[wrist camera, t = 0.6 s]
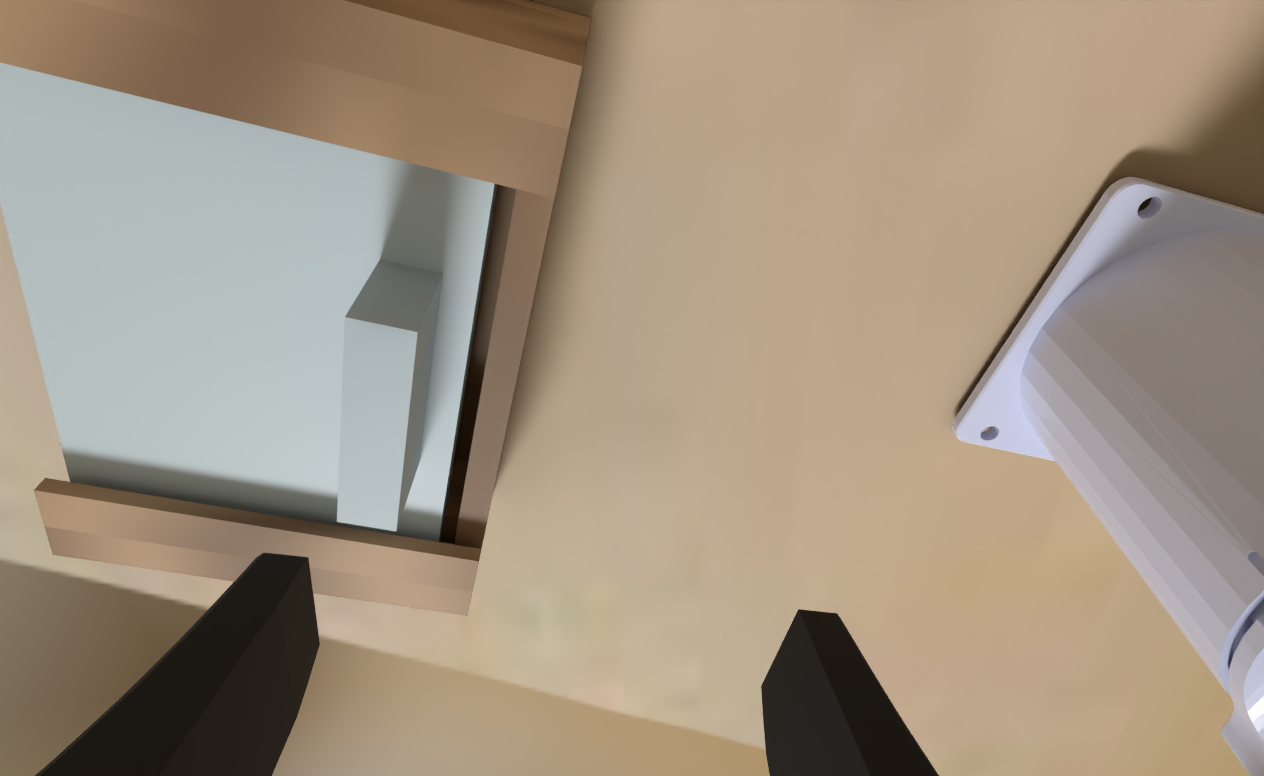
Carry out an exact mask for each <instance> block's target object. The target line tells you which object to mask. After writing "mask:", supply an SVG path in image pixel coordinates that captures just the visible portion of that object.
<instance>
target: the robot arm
mask: <svg viewBox="0 0 1264 776" xmlns="http://www.w3.org/2000/svg"><path fill="white" fill-rule="evenodd" d="M1151 197H1152V199H1151V201H1150V204H1149V205H1148V206H1147V207H1146V208H1145V209H1144V210H1141V211H1139V212H1137V211H1138V208H1139V206H1140V205H1141V204H1142V203H1143V202H1144V201H1145V200H1146V199H1149V198H1151ZM990 426H992V427H991V428H990V429H989V430H987V431H985V432H982V431H983V430H984V429H985V428H988V427H990ZM952 429H953V431H954V433H955V434H956V436H957V437H958V439H959V440H961V441H963V442H967V443H971V444H976V445H981V446H986V447H990V448H995V449H1000V450H1005V451H1010V452H1014V453H1019V454H1024V455H1029V456H1033V457H1038V458H1043V459H1048V460H1053V461H1056V462H1057V463H1058V465H1059V466H1060V468H1061V469H1062V470H1063V472H1064V473H1065V474H1066V476H1067V477H1068V478H1069V480H1070V481H1071V482H1072V484H1073V485H1074V486H1075V488H1076V489H1077V491H1078V492H1079V493H1080V495H1081V496H1082V497H1083V499H1084V500H1085V501H1086V503H1087V504H1088V505H1089V507H1090V508H1091V509H1092V511H1093V512H1094V513H1095V515H1096V516H1097V518H1098V519H1099V520H1100V522H1101V523H1102V524H1103V526H1104V527H1105V528H1106V530H1107V531H1108V532H1109V534H1110V535H1111V536H1112V538H1113V539H1114V541H1115V542H1116V543H1117V545H1118V546H1119V547H1120V549H1121V550H1122V551H1123V553H1124V554H1125V555H1126V557H1127V558H1128V559H1129V561H1130V562H1131V563H1132V565H1133V566H1134V568H1135V569H1136V570H1137V572H1138V573H1139V574H1140V576H1141V577H1142V578H1143V580H1144V581H1145V582H1146V584H1147V585H1148V586H1149V588H1150V589H1151V591H1152V592H1153V593H1154V595H1155V596H1156V597H1157V599H1158V600H1159V601H1160V603H1161V604H1162V605H1163V607H1164V608H1165V609H1166V611H1167V612H1168V613H1169V615H1170V616H1171V618H1172V619H1173V620H1174V622H1175V623H1176V624H1177V626H1178V627H1179V628H1180V630H1181V631H1182V632H1183V634H1184V635H1185V636H1186V638H1187V639H1188V641H1189V642H1190V643H1191V645H1192V646H1193V647H1194V649H1195V650H1196V651H1197V653H1198V654H1199V655H1200V657H1201V658H1202V659H1203V661H1204V662H1205V663H1206V665H1207V666H1208V668H1209V669H1210V670H1211V672H1212V673H1213V674H1214V676H1215V677H1216V678H1217V680H1218V681H1219V682H1220V684H1221V685H1222V686H1223V688H1224V689H1225V691H1226V692H1227V693H1228V694H1229V695H1230V696H1231V697H1232V700H1233V704H1234V710H1233V713H1232V715H1231V717H1230V719H1229V720H1228V721H1227V722H1226V724H1225V725H1224V726H1223V727H1222V728H1221V731H1220V733H1221V735H1222V736H1223V738H1224V739H1225V740H1226V742H1227V743H1228V745H1229V746H1230V748H1231V749H1232V750H1233V752H1234V753H1235V755H1236V756H1237V758H1238V759H1239V760H1240V762H1241V763H1242V765H1243V766H1244V768H1245V769H1246V770H1247V772H1248V773H1249V775H1250V776H1264V214H1263V213H1259V212H1256V211H1252V210H1249V209H1245V208H1242V207H1238V206H1235V205H1231V204H1228V203H1224V202H1221V201H1218V200H1214V199H1211V198H1207V197H1204V196H1200V195H1197V194H1193V193H1190V192H1186V191H1183V190H1179V189H1176V188H1172V187H1169V186H1165V185H1162V184H1158V183H1155V182H1151V181H1148V180H1145V179H1141V178H1138V177H1126V178H1123V179H1119V180H1118V181H1116V182H1115V183H1113V184H1112V185H1111V186H1110V187H1109V188H1108V189H1107V190H1106V191H1105V192H1104V194H1103V195H1102V197H1101V198H1100V200H1099V201H1098V203H1097V204H1096V206H1095V207H1094V209H1093V210H1092V212H1091V213H1090V215H1089V216H1088V218H1087V219H1086V221H1085V223H1084V224H1083V226H1082V227H1081V229H1080V230H1079V232H1078V233H1077V235H1076V236H1075V238H1074V239H1073V241H1072V242H1071V244H1070V245H1069V247H1068V248H1067V250H1066V251H1065V253H1064V254H1063V256H1062V257H1061V259H1060V260H1059V262H1058V263H1057V265H1056V266H1055V268H1054V269H1053V271H1052V272H1051V274H1050V275H1049V277H1048V278H1047V280H1046V281H1045V283H1044V284H1043V286H1042V287H1041V289H1040V291H1039V292H1038V294H1037V295H1036V297H1035V298H1034V300H1033V301H1032V303H1031V304H1030V306H1029V307H1028V309H1027V310H1026V312H1025V313H1024V315H1023V316H1022V318H1021V319H1020V321H1019V322H1018V324H1017V325H1016V327H1015V328H1014V330H1013V331H1012V333H1011V334H1010V336H1009V337H1008V339H1007V340H1006V342H1005V343H1004V345H1003V346H1002V348H1001V349H1000V351H999V352H998V354H997V355H996V357H995V358H994V360H993V362H992V363H991V365H990V366H989V368H988V369H987V371H986V372H985V374H984V375H983V377H982V378H981V380H980V381H979V383H978V384H977V386H976V387H975V389H974V390H973V392H972V393H971V395H970V396H969V398H968V399H967V401H966V402H965V404H964V405H963V407H962V408H961V410H960V411H959V413H958V414H957V416H956V417H955V419H954V421H953V424H952ZM319 645H320V644H319V636H318V628H317V620H316V612H315V605H314V597H313V589H312V581H311V573H310V566H309V558H308V557H302V556H292V555H283V554H274V553H262V554H261V555H259V556H257V557H256V558H255V559H254V560H253V561H252V563H251V564H250V565H249V566H248V567H247V568H246V569H245V570H244V571H243V573H242V574H241V575H240V576H239V577H238V578H237V579H236V580H235V581H234V582H233V584H232V585H231V586H230V587H229V588H228V589H227V590H226V591H225V592H224V593H223V594H222V596H221V597H220V598H219V599H218V600H217V601H216V602H215V603H214V604H213V605H212V606H211V607H210V608H209V609H208V611H207V612H206V613H205V614H204V615H203V616H202V617H201V618H200V619H199V620H198V621H197V622H196V623H195V624H194V625H193V626H192V628H190V629H189V631H187V632H186V634H185V635H184V636H183V637H182V638H181V639H180V640H179V641H178V642H177V643H176V644H175V645H174V646H173V647H172V648H171V649H170V650H169V651H168V652H167V653H166V654H165V655H164V656H163V657H162V658H161V659H160V660H159V661H158V662H157V663H156V664H155V665H154V666H153V667H152V668H151V669H150V670H149V671H148V672H147V673H146V674H145V675H144V676H143V677H142V678H141V679H140V680H139V681H138V682H137V683H136V684H135V685H134V686H133V687H131V689H130V690H128V692H126V693H125V694H124V695H123V696H122V697H121V698H120V699H119V700H118V701H117V702H116V703H115V704H114V705H113V706H112V707H111V708H109V709H108V710H107V711H106V712H105V713H104V714H103V715H102V716H101V717H100V718H99V719H98V720H96V721H95V722H94V723H93V724H92V725H91V726H90V727H89V728H88V729H87V730H85V731H84V732H83V733H82V734H81V735H80V736H79V737H78V738H77V739H76V740H75V741H74V742H72V743H71V744H70V745H69V746H68V747H67V748H66V749H65V750H64V751H63V752H61V753H60V754H59V755H58V756H57V757H56V758H55V759H54V760H53V761H52V762H50V763H49V764H48V765H47V766H46V767H45V768H44V769H42V770H41V771H40V772H39V773H38V774H37V775H35V776H272V774H273V771H274V769H275V767H276V764H277V762H278V759H279V757H280V755H281V753H282V750H283V748H284V746H285V743H286V741H287V738H288V736H289V734H290V732H291V729H292V727H293V725H294V722H295V720H296V718H297V715H298V712H299V709H300V705H301V702H302V700H303V697H304V693H305V690H306V687H307V684H308V681H309V678H310V674H311V671H312V668H313V664H314V661H315V658H316V654H317V651H318V648H319ZM761 688H762V704H763V720H764V732H765V744H766V755H767V761H768V767H769V773H770V776H939V775H938V774H937V772H936V771H935V769H934V768H933V766H932V765H931V763H930V761H929V760H928V758H927V757H926V755H925V754H924V752H923V751H922V749H921V748H920V746H919V745H918V743H917V742H916V740H915V739H914V737H913V736H912V734H911V733H910V731H909V729H908V728H907V726H906V725H905V723H904V722H903V720H902V718H901V717H900V715H899V714H898V712H897V711H896V709H895V707H894V706H893V704H892V703H891V701H890V699H889V698H888V696H887V694H886V693H885V691H884V690H883V688H882V686H881V685H880V683H879V681H878V680H877V678H876V677H875V675H874V673H873V672H872V670H871V668H870V667H869V665H868V663H867V662H866V660H865V658H864V657H863V655H862V653H861V652H860V650H859V648H858V647H857V645H856V643H855V642H854V640H853V638H852V637H851V635H850V633H849V632H848V630H847V628H846V627H845V625H844V623H843V622H842V620H841V618H840V617H839V616H838V614H836V613H827V612H818V611H808V610H799V609H798V611H797V614H796V616H795V618H794V620H793V622H792V624H791V626H790V628H789V630H788V632H787V634H786V636H785V638H784V640H783V642H782V645H781V647H780V649H779V651H778V653H777V655H776V657H775V659H774V661H773V663H772V665H771V667H770V669H769V671H768V673H767V676H766V678H765V680H764V682H763V684H762V686H761Z"/></svg>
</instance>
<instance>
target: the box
mask: <svg viewBox="0 0 1264 776" xmlns="http://www.w3.org/2000/svg"><path fill="white" fill-rule="evenodd" d="M590 22H591V18H589V17H586V16H582V15H579V14H575V13H572V12H568V11H565V10H561V9H558V8H554V7H551V6H547V5H544V4H541V3H537V2H534V1H530V0H0V63H4V64H8V65H12V66H16V67H20V68H25V69H29V70H33V71H37V72H41V73H45V74H49V75H53V76H57V77H61V78H65V79H69V80H74V81H78V82H82V83H86V84H90V85H94V86H98V87H102V88H106V89H110V90H114V91H118V92H123V93H127V94H131V95H135V96H139V97H143V98H147V99H151V100H155V101H159V102H163V103H167V104H172V105H176V106H180V107H184V108H188V109H192V110H196V111H200V112H204V113H208V114H212V115H216V116H220V117H225V118H229V119H233V120H237V121H241V122H245V123H249V124H253V125H257V126H261V127H265V128H269V129H274V130H278V131H282V132H286V133H290V134H294V135H298V136H302V137H306V138H310V139H314V140H318V141H323V142H327V143H331V144H335V145H339V146H343V147H347V148H351V149H355V150H359V151H363V152H367V153H371V154H376V155H380V156H384V157H388V158H392V159H396V160H400V161H404V162H408V163H412V164H416V165H420V166H425V167H429V168H433V169H437V170H441V171H445V172H449V173H453V174H457V175H461V176H465V177H469V178H474V179H478V180H482V181H486V182H490V183H494V184H498V187H497V193H496V199H495V206H494V212H493V218H492V224H491V231H490V237H489V243H488V249H487V256H486V262H485V268H484V274H483V281H482V287H481V293H480V299H479V306H478V312H477V318H476V324H475V331H474V337H473V343H472V349H471V356H470V362H469V368H468V374H467V381H466V387H465V393H464V399H463V406H462V412H461V418H460V424H459V431H458V437H457V443H456V449H455V456H454V462H453V468H452V474H451V481H450V487H449V493H448V499H447V506H446V512H445V518H444V524H443V531H442V535H441V539H440V542H435V541H429V540H423V539H416V538H410V537H404V536H398V535H392V534H386V533H380V532H373V531H367V530H361V529H355V528H349V527H343V526H337V525H330V524H324V523H318V522H312V521H306V520H300V519H294V518H287V517H281V516H275V515H269V514H263V513H257V512H251V511H244V510H238V509H232V508H226V507H220V506H214V505H208V504H201V503H195V502H189V501H183V500H177V499H171V498H165V497H158V496H152V495H146V494H140V493H134V492H128V491H122V490H115V489H109V488H103V487H97V486H91V485H85V484H79V483H72V482H66V481H60V480H54V479H48V478H45V479H44V480H43V481H42V482H41V483H40V484H39V485H38V486H37V488H36V489H35V490H34V492H35V496H36V499H37V502H38V506H39V509H40V513H41V516H42V519H43V523H44V526H45V530H46V533H47V536H48V540H49V543H50V547H51V550H52V553H53V555H58V556H65V557H72V558H79V559H86V560H92V561H99V562H106V563H113V564H120V565H126V566H133V567H140V568H147V569H153V570H160V571H167V572H174V573H181V574H187V575H194V576H201V577H208V578H214V579H221V580H228V581H235V580H236V579H237V578H238V577H239V576H240V575H241V574H242V573H243V571H244V570H245V569H246V568H247V567H248V566H249V565H250V564H251V563H252V561H253V560H254V559H255V558H256V557H257V556H259V555H261V554H262V553H274V554H283V555H292V556H302V557H308V558H309V566H310V573H311V581H312V589H313V593H316V594H323V595H330V596H336V597H343V598H350V599H357V600H364V601H370V602H377V603H384V604H391V605H398V606H404V607H411V608H418V609H425V610H431V611H438V612H445V613H452V614H459V615H465V616H468V611H469V606H470V601H471V597H472V592H473V587H474V582H475V578H476V573H477V568H478V563H479V558H480V553H481V548H482V543H483V539H484V534H485V529H486V524H487V519H488V515H489V510H490V505H491V500H492V495H493V491H494V486H495V481H496V476H497V472H498V467H499V462H500V457H501V452H502V448H503V443H504V438H505V433H506V428H507V424H508V419H509V414H510V409H511V404H512V400H513V395H514V390H515V385H516V381H517V376H518V371H519V366H520V361H521V357H522V352H523V347H524V342H525V337H526V333H527V328H528V323H529V318H530V314H531V309H532V304H533V299H534V294H535V290H536V285H537V280H538V275H539V270H540V266H541V261H542V256H543V251H544V247H545V242H546V237H547V232H548V227H549V223H550V218H551V213H552V208H553V203H554V199H555V195H556V190H557V185H558V181H559V176H560V171H561V166H562V162H563V157H564V152H565V147H566V142H567V138H568V133H569V128H570V123H571V118H572V114H573V109H574V104H575V99H576V95H577V90H578V85H579V80H580V75H581V71H582V66H583V60H584V55H585V49H586V44H587V38H588V33H589V27H590Z"/></svg>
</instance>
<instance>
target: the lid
mask: <svg viewBox="0 0 1264 776" xmlns="http://www.w3.org/2000/svg"><path fill="white" fill-rule="evenodd" d="M497 187H498V184H494V183H490V182H486V181H482V180H478V179H474V178H469V177H465V176H461V175H457V174H453V173H449V172H445V171H441V170H437V169H433V168H429V167H425V166H420V165H416V164H412V163H408V162H404V161H400V160H396V159H392V158H388V157H384V156H380V155H376V154H371V153H367V152H363V151H359V150H355V149H351V148H347V147H343V146H339V145H335V144H331V143H327V142H323V141H318V140H314V139H310V138H306V137H302V136H298V135H294V134H290V133H286V132H282V131H278V130H274V129H269V128H265V127H261V126H257V125H253V124H249V123H245V122H241V121H237V120H233V119H229V118H225V117H220V116H216V115H212V114H208V113H204V112H200V111H196V110H192V109H188V108H184V107H180V106H176V105H172V104H167V103H163V102H159V101H155V100H151V99H147V98H143V97H139V96H135V95H131V94H127V93H123V92H118V91H114V90H110V89H106V88H102V87H98V86H94V85H90V84H86V83H82V82H78V81H74V80H69V79H65V78H61V77H57V76H53V75H49V74H45V73H41V72H37V71H33V70H29V69H25V68H20V67H16V66H12V65H8V64H4V63H0V205H1V209H2V213H3V217H4V221H5V225H6V229H7V233H8V237H9V241H10V245H11V248H12V252H13V256H14V260H15V264H16V268H17V272H18V276H19V280H20V284H21V288H22V292H23V296H24V300H25V304H26V308H27V312H28V316H29V320H30V324H31V328H32V332H33V336H34V340H35V344H36V348H37V352H38V356H39V360H40V363H41V367H42V371H43V375H44V379H45V383H46V387H47V391H48V395H49V399H50V403H51V407H52V411H53V415H54V419H55V423H56V427H57V431H58V435H59V439H60V443H61V447H62V451H63V455H64V459H65V463H66V467H67V471H68V475H69V478H70V482H72V483H79V484H85V485H91V486H97V487H103V488H109V489H115V490H122V491H128V492H134V493H140V494H146V495H152V496H158V497H165V498H171V499H177V500H183V501H189V502H195V503H201V504H208V505H214V506H220V507H226V508H232V509H238V510H244V511H251V512H257V513H263V514H269V515H275V516H281V517H287V518H294V519H300V520H306V521H312V522H318V523H324V524H330V525H337V526H343V527H349V528H355V529H361V530H367V531H373V532H380V533H386V534H392V535H398V536H404V537H410V538H416V539H423V540H429V541H435V542H440V539H441V535H442V531H443V524H444V518H445V512H446V506H447V499H448V493H449V487H450V481H451V474H452V468H453V462H454V456H455V449H456V443H457V437H458V431H459V424H460V418H461V412H462V406H463V399H464V393H465V387H466V381H467V374H468V368H469V362H470V356H471V349H472V343H473V337H474V331H475V324H476V318H477V312H478V306H479V299H480V293H481V287H482V281H483V274H484V268H485V262H486V256H487V249H488V243H489V237H490V231H491V224H492V218H493V212H494V206H495V199H496V193H497Z"/></svg>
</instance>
